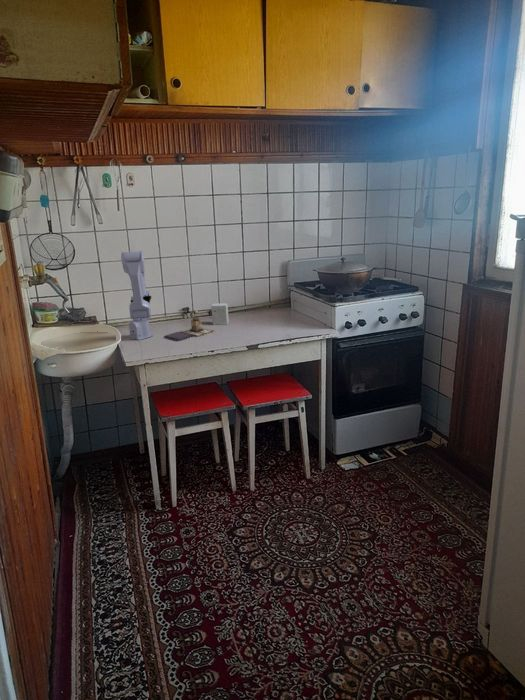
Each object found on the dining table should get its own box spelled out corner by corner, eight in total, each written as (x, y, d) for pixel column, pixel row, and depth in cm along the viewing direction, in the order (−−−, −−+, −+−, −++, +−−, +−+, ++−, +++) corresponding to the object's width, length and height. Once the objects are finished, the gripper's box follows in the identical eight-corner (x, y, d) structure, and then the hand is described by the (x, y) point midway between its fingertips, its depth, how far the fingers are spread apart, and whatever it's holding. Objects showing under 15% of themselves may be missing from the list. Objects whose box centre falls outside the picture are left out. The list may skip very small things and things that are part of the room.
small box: (228, 322, 268) (227, 303, 265) (227, 324, 263) (226, 305, 260) (214, 322, 269) (213, 303, 266) (212, 324, 264) (211, 305, 260)
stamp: (196, 332, 247) (195, 319, 245) (189, 331, 250) (188, 318, 248) (203, 330, 250) (202, 317, 248) (197, 329, 253) (196, 316, 251)
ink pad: (178, 341, 236) (178, 339, 236) (163, 337, 243) (163, 335, 242) (192, 336, 243) (192, 334, 242) (177, 333, 249) (177, 331, 249)
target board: (197, 336, 242) (197, 335, 242) (179, 332, 250) (179, 331, 250) (214, 331, 250) (214, 330, 250) (195, 327, 259) (195, 326, 258)
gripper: (138, 288, 246) (141, 315, 250) (153, 283, 259) (156, 308, 263) (126, 288, 248) (129, 314, 252) (142, 282, 261) (145, 308, 265)
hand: (142, 311), depth 258 cm, fingers open, 7 cm apart
